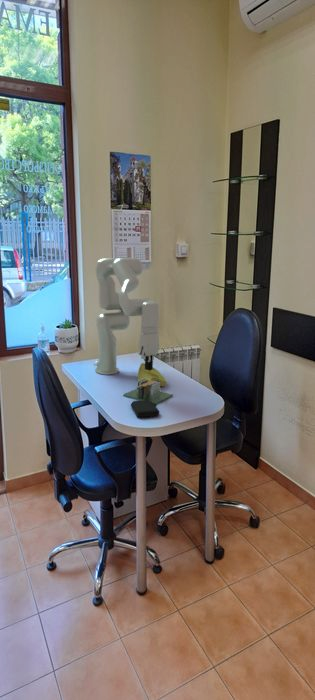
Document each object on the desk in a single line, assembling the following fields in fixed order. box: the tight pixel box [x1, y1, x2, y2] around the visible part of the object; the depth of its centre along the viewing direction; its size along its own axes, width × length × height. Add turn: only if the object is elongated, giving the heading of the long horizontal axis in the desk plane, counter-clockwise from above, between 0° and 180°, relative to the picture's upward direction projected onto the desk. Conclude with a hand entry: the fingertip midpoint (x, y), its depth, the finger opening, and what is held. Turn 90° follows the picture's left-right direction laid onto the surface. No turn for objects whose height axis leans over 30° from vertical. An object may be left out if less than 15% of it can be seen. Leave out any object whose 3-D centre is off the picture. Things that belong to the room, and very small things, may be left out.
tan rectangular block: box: [140, 380, 156, 396], centre depth 203 cm, size 2×9×4 cm, turn 146°
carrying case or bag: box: [130, 400, 160, 419], centre depth 186 cm, size 11×3×15 cm
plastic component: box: [137, 362, 168, 387], centre depth 225 cm, size 20×7×10 cm
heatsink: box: [122, 379, 174, 405], centre depth 204 cm, size 18×15×7 cm
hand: (148, 369), depth 201 cm, fingers closed
